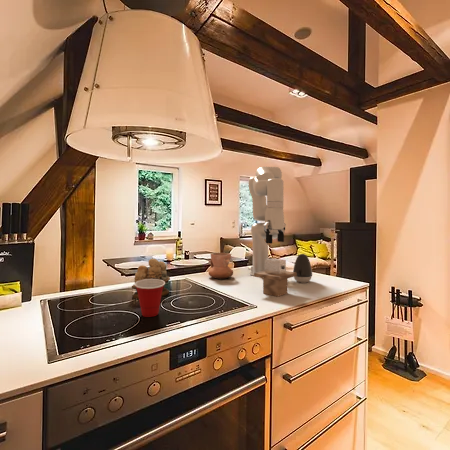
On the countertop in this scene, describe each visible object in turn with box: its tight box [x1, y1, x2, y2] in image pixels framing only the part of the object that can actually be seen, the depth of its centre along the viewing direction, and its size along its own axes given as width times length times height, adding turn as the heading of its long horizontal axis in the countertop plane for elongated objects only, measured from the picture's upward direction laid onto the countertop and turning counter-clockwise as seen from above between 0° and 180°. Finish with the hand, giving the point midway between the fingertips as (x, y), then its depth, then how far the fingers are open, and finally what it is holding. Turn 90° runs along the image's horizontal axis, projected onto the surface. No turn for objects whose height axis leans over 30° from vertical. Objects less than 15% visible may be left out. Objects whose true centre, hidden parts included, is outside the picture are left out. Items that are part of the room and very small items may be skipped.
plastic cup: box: [134, 279, 166, 318], centre depth 104 cm, size 11×11×12 cm
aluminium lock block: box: [265, 258, 287, 275], centre depth 131 cm, size 9×5×6 cm, turn 47°
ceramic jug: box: [208, 252, 234, 280], centre depth 167 cm, size 18×14×14 cm
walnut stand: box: [253, 270, 297, 297], centre depth 132 cm, size 14×14×10 cm
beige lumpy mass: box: [131, 258, 171, 301], centre depth 129 cm, size 18×12×17 cm, turn 130°
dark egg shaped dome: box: [292, 253, 313, 284], centre depth 155 cm, size 10×10×15 cm
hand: (275, 242), depth 132 cm, fingers open, 9 cm apart
